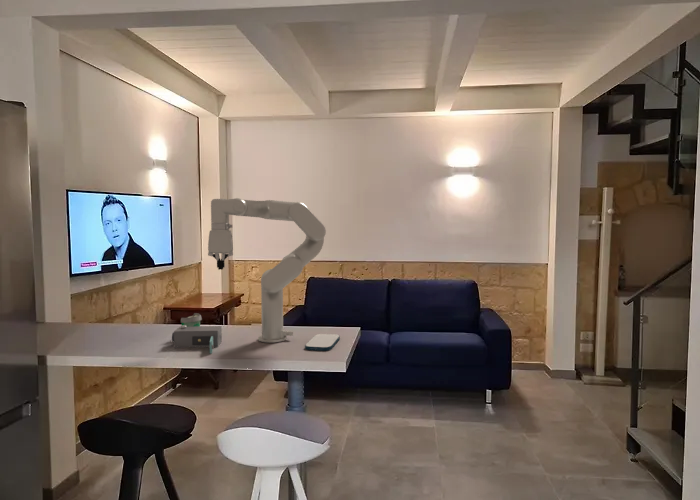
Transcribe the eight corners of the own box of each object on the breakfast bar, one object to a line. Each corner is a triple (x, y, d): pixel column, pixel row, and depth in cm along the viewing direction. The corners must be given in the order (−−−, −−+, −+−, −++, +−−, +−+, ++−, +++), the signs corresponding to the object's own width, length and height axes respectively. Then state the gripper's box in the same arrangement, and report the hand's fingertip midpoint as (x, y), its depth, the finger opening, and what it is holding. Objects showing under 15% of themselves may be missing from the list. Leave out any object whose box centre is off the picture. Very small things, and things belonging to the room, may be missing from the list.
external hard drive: (316, 337, 231) (316, 333, 230) (341, 338, 229) (341, 334, 228) (303, 351, 207) (303, 346, 207) (330, 352, 205) (330, 347, 205)
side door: (211, 347, 211) (211, 335, 211) (215, 347, 211) (214, 335, 211) (209, 353, 201) (209, 341, 200) (213, 353, 201) (213, 341, 201)
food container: (193, 340, 223) (193, 318, 222) (181, 340, 224) (180, 318, 223) (206, 334, 235) (206, 313, 234) (194, 334, 236) (194, 312, 235)
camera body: (221, 341, 221) (221, 323, 220) (217, 347, 211) (217, 328, 211) (176, 342, 219) (175, 324, 219) (170, 348, 210) (169, 329, 209)
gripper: (238, 227, 222) (239, 268, 224) (204, 227, 221) (205, 268, 223) (236, 227, 215) (236, 270, 216) (200, 227, 214) (201, 270, 215)
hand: (220, 269), depth 219 cm, fingers closed
